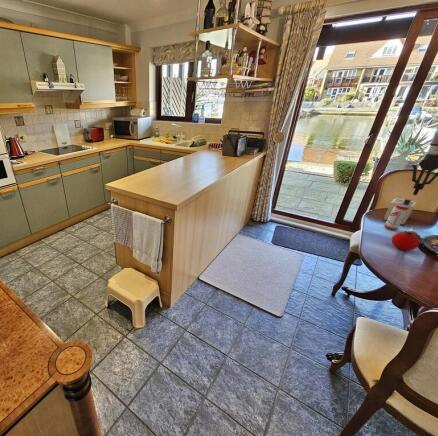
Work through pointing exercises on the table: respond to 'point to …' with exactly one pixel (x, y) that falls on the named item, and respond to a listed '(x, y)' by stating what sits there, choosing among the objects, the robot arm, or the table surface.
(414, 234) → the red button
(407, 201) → the slider
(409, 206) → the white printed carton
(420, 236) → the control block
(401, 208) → the beer can
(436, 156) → the robot arm
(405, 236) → the tomato
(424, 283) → the table surface
